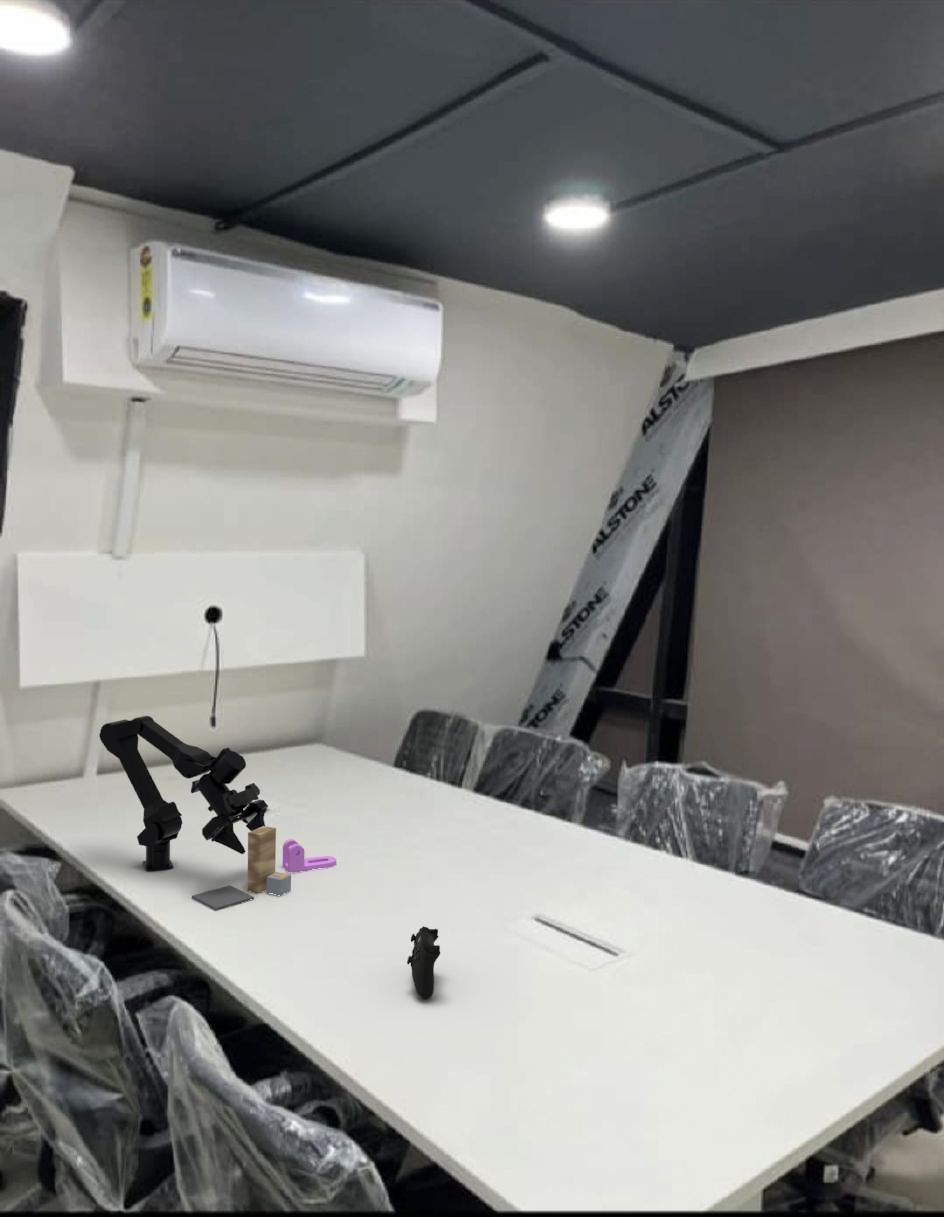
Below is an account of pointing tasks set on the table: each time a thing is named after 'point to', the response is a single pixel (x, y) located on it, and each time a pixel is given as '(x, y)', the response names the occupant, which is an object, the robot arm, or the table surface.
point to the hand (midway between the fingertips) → (256, 847)
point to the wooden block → (261, 857)
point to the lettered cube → (279, 883)
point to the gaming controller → (424, 960)
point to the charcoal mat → (222, 897)
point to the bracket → (302, 858)
